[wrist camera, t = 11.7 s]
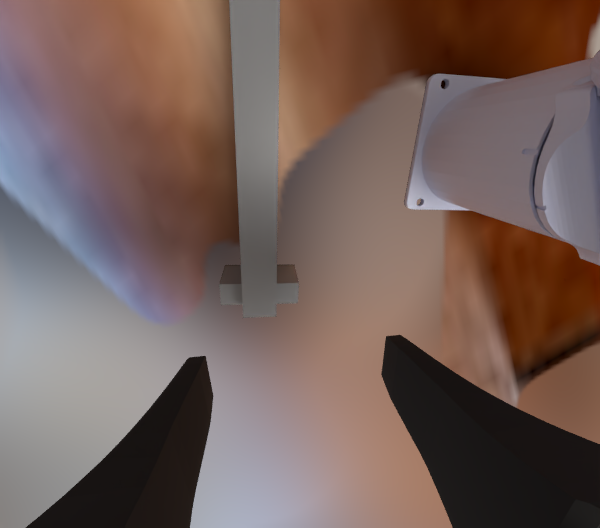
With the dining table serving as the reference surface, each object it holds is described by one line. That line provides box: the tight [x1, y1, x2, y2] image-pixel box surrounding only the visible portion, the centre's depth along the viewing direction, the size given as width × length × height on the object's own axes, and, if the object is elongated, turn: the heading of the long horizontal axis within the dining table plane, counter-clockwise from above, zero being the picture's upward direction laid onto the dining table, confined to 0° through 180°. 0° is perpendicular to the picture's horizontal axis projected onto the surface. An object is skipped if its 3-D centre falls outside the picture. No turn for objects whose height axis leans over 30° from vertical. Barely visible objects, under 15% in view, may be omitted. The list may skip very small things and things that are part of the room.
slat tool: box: [219, 0, 299, 318], centre depth 15 cm, size 5×20×4 cm, turn 177°
